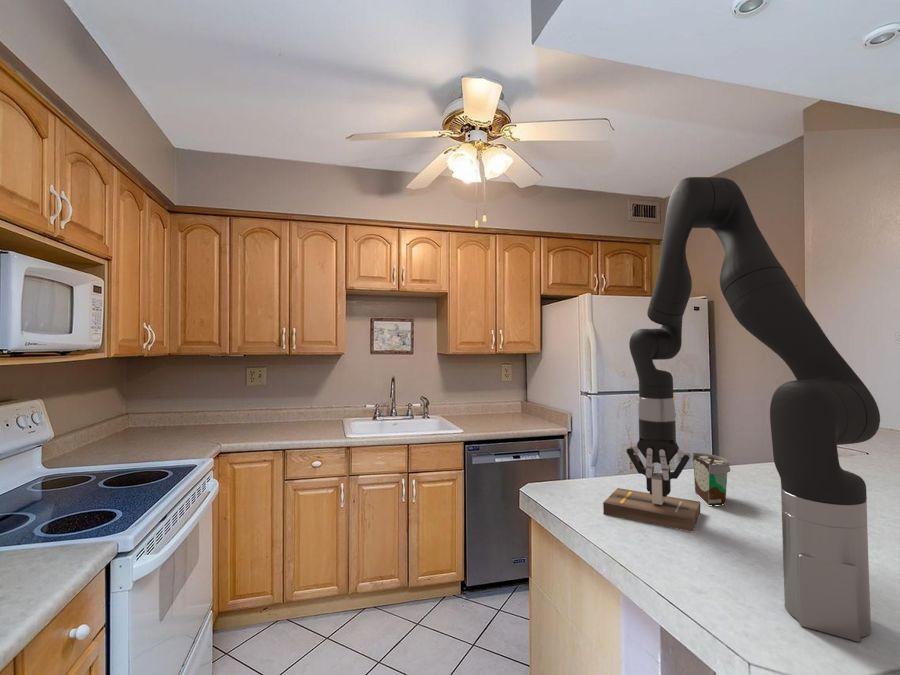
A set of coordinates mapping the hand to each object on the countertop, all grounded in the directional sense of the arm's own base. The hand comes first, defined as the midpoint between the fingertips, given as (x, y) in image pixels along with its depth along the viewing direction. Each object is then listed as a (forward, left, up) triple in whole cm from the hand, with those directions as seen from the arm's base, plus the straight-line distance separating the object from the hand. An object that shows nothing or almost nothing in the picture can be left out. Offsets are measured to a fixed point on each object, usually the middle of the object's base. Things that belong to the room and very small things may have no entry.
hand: (658, 494), depth 100 cm
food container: (+17, -9, -5) cm, 20 cm away
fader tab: (0, 0, -2) cm, 2 cm away
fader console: (0, +2, -5) cm, 5 cm away
